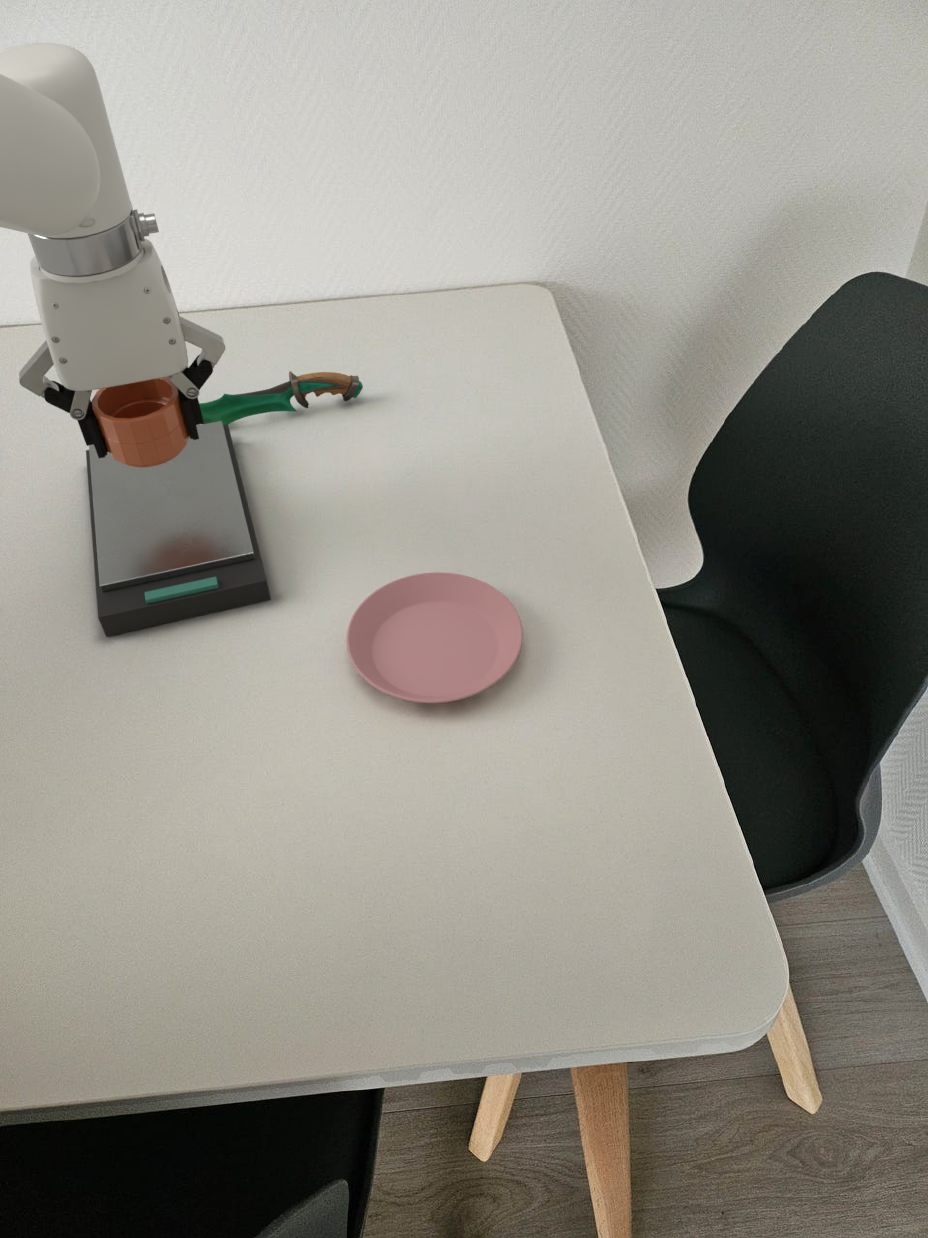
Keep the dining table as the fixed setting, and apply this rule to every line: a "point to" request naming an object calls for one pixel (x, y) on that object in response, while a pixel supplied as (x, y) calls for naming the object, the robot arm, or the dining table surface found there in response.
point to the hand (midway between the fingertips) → (148, 438)
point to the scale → (173, 536)
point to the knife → (280, 396)
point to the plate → (434, 637)
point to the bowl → (141, 422)
